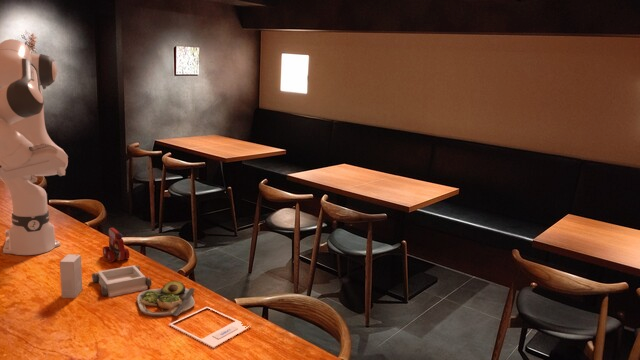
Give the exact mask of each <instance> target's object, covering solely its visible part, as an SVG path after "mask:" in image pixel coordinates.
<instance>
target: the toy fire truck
mask: <svg viewBox="0 0 640 360" xmlns="http://www.w3.org/2000/svg"><path fill="white" fill-rule="evenodd" d="M102 254H103V255H102V256H103V257H105V258H107V261H108V262H109V263H113V262H115V260H120V261H122V260H129V259H130V250H129V248H127V247H126V248H125V244H124V238H123V234H122V233H120V232H119V231H118V230H117V229H116V228H114V227H110V228H109V229H108V245H107V246H103V247H102Z"/></svg>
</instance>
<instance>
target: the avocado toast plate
mask: <svg viewBox="0 0 640 360" xmlns="http://www.w3.org/2000/svg"><path fill="white" fill-rule="evenodd" d="M194 292H195V288H193V287H190V288H186V287H185V284H184V283H183V282H181V281H177V280H174V281H169V282H166V283H165V284H163V287H162V288H155V289H146V290H142V291H141V292H140V293H139V294H137V297H136V303H137V306H138V308H139V310H140V312H141V313H143V314H145V315H147V316H151V317H167V316H173V317H177V316H180V314H181V313H184V312H185V311H189V310H190V309H191V308H193V307H194V306H195V303H196V302H195V299H194V297H193V294H194ZM146 306H149V307H158V308H160V310H161V309H162V310H163V311H162V310H161V311H156V312H155V311H151V310H149V309H148V308H146ZM166 315H167V316H166Z"/></svg>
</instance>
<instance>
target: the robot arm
mask: <svg viewBox="0 0 640 360" xmlns="http://www.w3.org/2000/svg"><path fill="white" fill-rule="evenodd" d="M57 72H58V68H57V65H56V63H55V60H54V59H53V57H52V56H50V55H48V54H47V55H46V54H43V53H42V54H37V53H31V50H30V49H29V47H28V46H27V45H26V43H24V42H22V41H20V40H18V39H13V38H11V39H6V40H3V41H1V42H0V180H1V181H2V182H3V184H5V186H6V188H7V189H8V191H9V194H10V197H11V198H10V199H11V205H12V213H11V226H10V228H9V229H7V230H5V237H6V239H5V242H4V245H3V248H2V253H3V254H13V255H17V256H35V255H40V254H45V253H47V252H50V251H52V250H53V249H54V248H56V247H59V246H61V242H60V241H59V240H57V239H56V233H55V225H54V224H53V223H51V222H50V213H49V210H48V193H47V192H46V190H45V188H43V187H41V186H40V185H38V184H35V183H38V177H50V176H56V175H57V176H59V177H62V176H66V170H67V167H68V163H69V159H68V158H69V156H68V154H67V153H66V152H65V151H64V149H63V148H61V147H60V146H58V145H57V144H56V143H55V142H54V141H53V140H52V139H51V137H50V136H49V133H48V132H47V128H46V123H45V122H46V121H45V106H44V96H43V91H42V89H43V90H46V89H47V87H50V86H51V85H53V83H54V82H55V79H56V77H57V75H58V74H57Z"/></svg>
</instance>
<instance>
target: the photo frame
mask: <svg viewBox="0 0 640 360" xmlns="http://www.w3.org/2000/svg"><path fill="white" fill-rule="evenodd" d="M206 309H208V310H209V309H210V310H213V311H215V312H217V313H219V314H221V315H223V316H225V317H228V318H230V319H232V320H234V321H235V322H234V321H232V322H231V323H229V324H227V325H225V326H224V327H222V328H219V329H218V330H216V331H213V332H212V333H210V334H208V335H206V336H205V337H203V338H200V337H198V336H196V335H194V334H193V333H190V332H188V331H186V330H184V329H183V328H181V327H179V326H177V325H175V323H177V322H179V321H182V320H184V319H186V318H188V317H190V316H193V315H195V314H197V313H199V312H201V311H203V310H206ZM210 310H209V311H210ZM221 315H220V316H221ZM223 316H222V317H223ZM225 317H224V318H225ZM242 322H243V321H240V320H238V319H236V318H234V317H231V316H229V315H227V314H224V313H223V312H220V311H218V310H216V309H214V308H212V307H209V306H205V307H203V308H201V309H199V310H196V311H193V312H192V313H190V314H188V315H185V316H183V317H181V318H179V319H177V320H175V321H172V322H169V323H168V326H169V327H170V326H171V328H172V327H173V328H172V329H174V328H175V330H176V329H177V330H176V331H178V330H179V331H178V332H180V331H181V332H180V333H182V332H183V333H182V334H184V333H185V334H184V335H186V334H187V335H186V336H188V335H189V336H188V337H190V336H191V337H190V338H192V337H193V338H194V339H193V338H192V339H193V340H195V339H196V341H197V340H198V341H197V342H199V341H200V342H199V343H201V342H203V343H204V344H203V343H202V344H203V345H205V344H206V345H205V346H207V345H208V346H207V347H209V346H210V347H209V348H211V347H212V348H211V349H213V348H214V349H216V348H217V347H216V346H218V345H220V344H221V343H223V342H225V341H227V340H228V339H230V338H232V337H233V336H235V335H237V334H239V333H241V332H242V331H244V330H246V329H247V328H248V327H249V326H250V327H251V328H252V326H251V325H249V326H248V327H246V326H242V325H243V324H241V323H242ZM245 327H246V328H245ZM246 331H247V330H246ZM241 334H242V333H241ZM239 335H240V334H239ZM232 339H233V338H232ZM230 340H231V339H230ZM227 342H228V341H227ZM225 343H226V342H225ZM223 344H224V343H223ZM220 346H221V345H220ZM215 347H216V348H215ZM218 347H219V346H218Z"/></svg>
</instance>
